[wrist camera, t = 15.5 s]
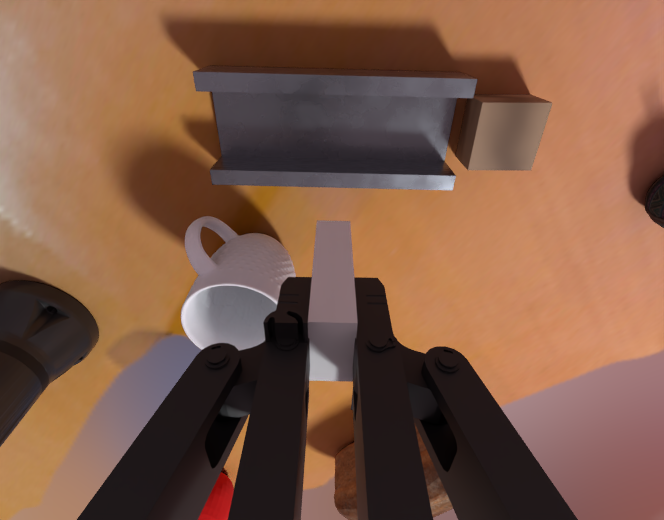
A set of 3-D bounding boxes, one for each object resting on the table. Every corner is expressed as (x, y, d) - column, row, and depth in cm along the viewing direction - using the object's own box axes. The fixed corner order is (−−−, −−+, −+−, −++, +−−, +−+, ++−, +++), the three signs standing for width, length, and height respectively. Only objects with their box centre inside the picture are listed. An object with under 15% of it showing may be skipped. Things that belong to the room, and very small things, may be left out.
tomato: (240, 462, 75) (226, 527, 66) (236, 491, 83) (223, 554, 73) (177, 455, 74) (154, 520, 64) (179, 486, 81) (158, 549, 72)
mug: (176, 219, 43) (123, 285, 33) (247, 174, 40) (214, 230, 29) (252, 300, 50) (229, 376, 40) (318, 267, 47) (313, 340, 36)
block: (455, 155, 39) (468, 170, 35) (467, 93, 36) (482, 102, 32) (512, 156, 39) (530, 170, 35) (529, 94, 36) (552, 102, 32)
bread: (324, 449, 73) (322, 528, 61) (457, 386, 61) (484, 468, 50) (362, 472, 78) (366, 548, 66) (491, 417, 66) (523, 499, 55)
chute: (225, 167, 40) (212, 184, 36) (210, 65, 34) (192, 71, 30) (440, 172, 40) (452, 190, 36) (460, 72, 34) (477, 79, 30)
